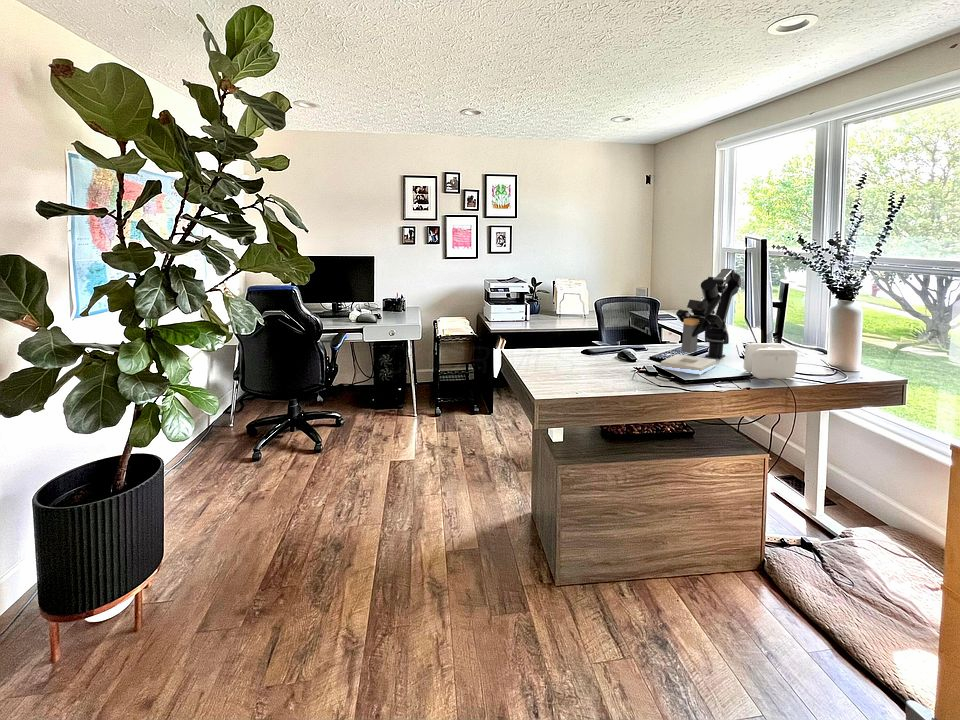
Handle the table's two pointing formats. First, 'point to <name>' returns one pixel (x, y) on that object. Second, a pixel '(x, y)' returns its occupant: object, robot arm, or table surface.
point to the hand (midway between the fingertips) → (687, 335)
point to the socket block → (688, 362)
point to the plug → (689, 335)
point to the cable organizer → (770, 360)
